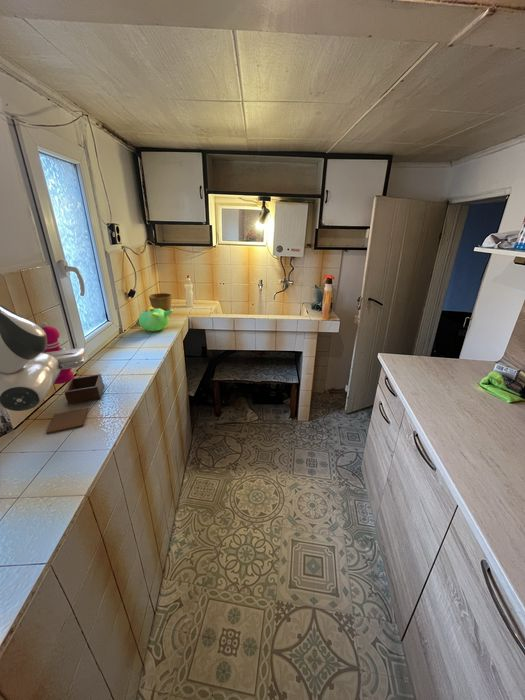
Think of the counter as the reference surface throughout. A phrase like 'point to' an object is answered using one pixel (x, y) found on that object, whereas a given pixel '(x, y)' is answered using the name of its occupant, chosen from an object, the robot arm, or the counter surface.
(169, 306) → the plant pot
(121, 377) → the counter surface
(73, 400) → the mill holder
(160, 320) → the toy bird
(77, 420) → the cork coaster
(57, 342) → the pepper mill
